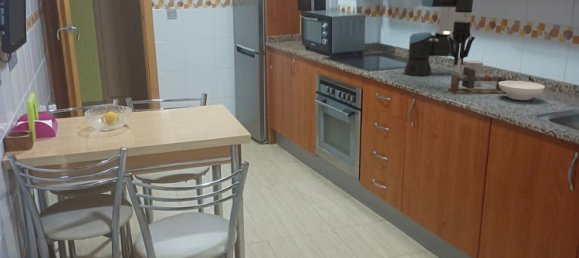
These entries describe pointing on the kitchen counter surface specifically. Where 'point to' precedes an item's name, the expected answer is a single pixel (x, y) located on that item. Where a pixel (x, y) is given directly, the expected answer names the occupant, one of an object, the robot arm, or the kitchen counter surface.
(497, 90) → the pipe stand
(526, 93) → the bowl
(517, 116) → the kitchen counter surface
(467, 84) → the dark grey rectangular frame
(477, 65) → the light grey cylinder
